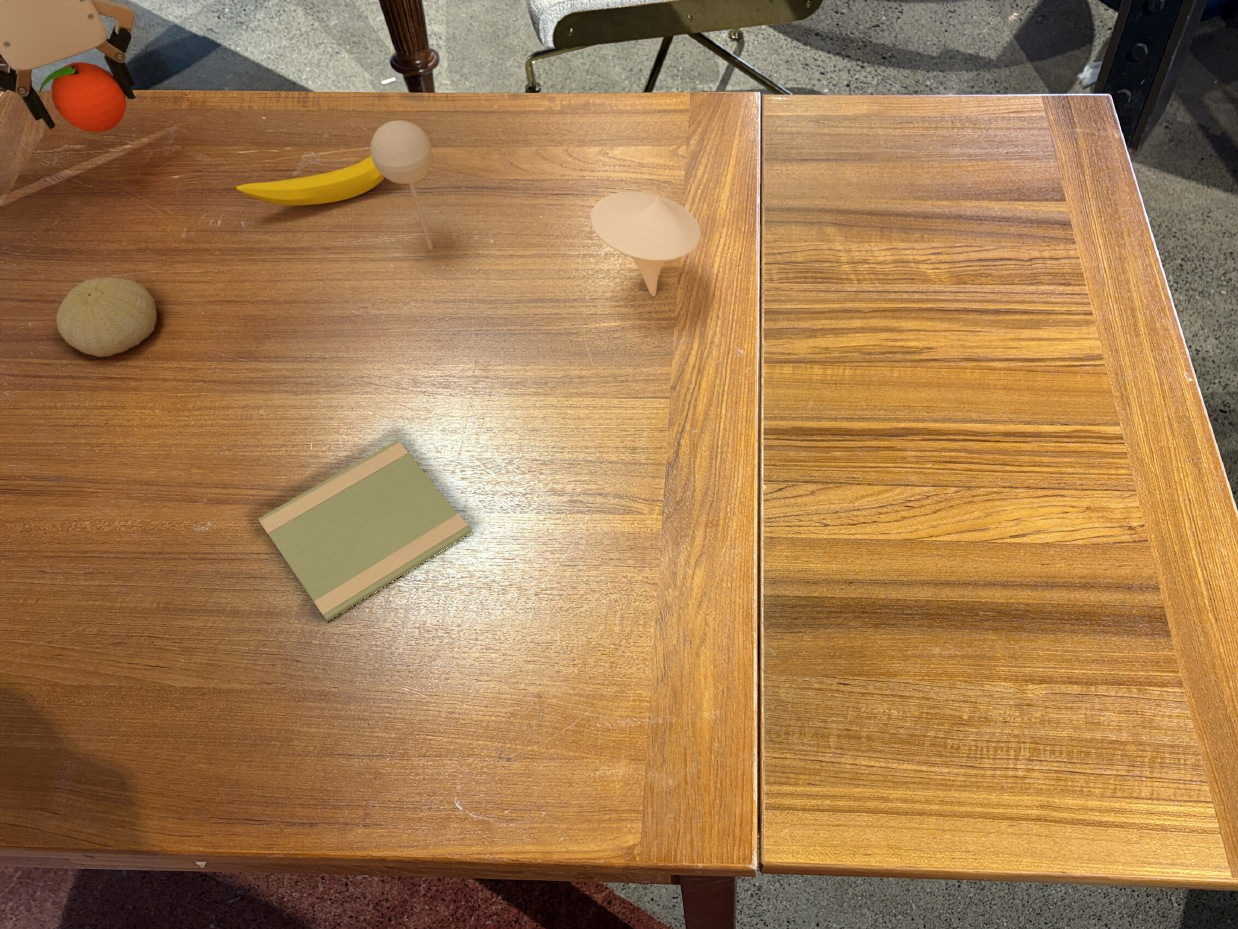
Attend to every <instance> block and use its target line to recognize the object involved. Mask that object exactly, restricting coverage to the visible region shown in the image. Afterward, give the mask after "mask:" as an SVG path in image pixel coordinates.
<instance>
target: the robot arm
mask: <svg viewBox="0 0 1238 929" xmlns="http://www.w3.org/2000/svg"><path fill="white" fill-rule="evenodd" d="M101 16H105V17H107V18H109V17H110V18H112V19H115V25H114V27H113V28H112V31H111V34H110V35H109V36H108V32H107V29H106V26H105V24H104V22H103V19H102V18H101ZM134 20H135V12H133V10H132V9H131V8H130V7H129V6H128V5H125V4H121V3H118V2H115V1H110V0H0V56H1V57H2V59H3V60H4V61H5V62H6V64H7V65H8V67H7V71H5V70H3V69H0V88H2V89H4V90H7V91H10V92H12V93H15V94H16V95H18V96H19V97H21V99H22V101H23V102H24V103H25V106H26V108H27V109H28V111H29V113H30V114H31V115H32V117H33V119H34V120H35V121H40V120H42V121H43V122H44V124H45V125H46V126H47V127H48V129H49V130H52V129H55V128H56V126H57V125H56V123H55V121H54V120H53V118H52V116H51V114H50V113H49V111H48V109H47V108H46V106H45V104H44V102H43V100H42V99H41V96H40V94H38V92H37V90H35V88H34V87H33V86H32V84H31V82H32V74H33V70H36V69H39V68H42V67H45V66H48V65H51V64H55V63H57V62H61V61H62V60H66V59H70V58H72V57H75V56H78V55H81V54H83V53H86V52H90V51H92V50H94V49H96V50H98V51H99V52H101V53H102V54H103V55H104V56H103V59H104V60H105V62H106V66H108V68H109V71H110V72H111V75H112V76H114V77H115V79H116V80H117V81H118V83H119V84H120V86H121V87H122V89H123V92H124V94H125V98H126V99H127V100H131V101H132V100H134V99H136V98H137V97H136V95H135V93H134V91H133V89H132V87H134V86H136V83H135V80H134V78H133V76H132V74H131V72H130V70H129V68H128V66H127V64H126V61H127V60H126V59H127V56H126V53H127V51H128V48H129V46H130V43H131V41H132V30H133V27H134Z"/></svg>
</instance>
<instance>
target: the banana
mask: <svg viewBox="0 0 1238 929" xmlns="http://www.w3.org/2000/svg"><path fill="white" fill-rule="evenodd" d="M384 179H386V178H385V177H384V176H383V175H382V174H381V173H380V172H379V171H378V170H377V168H376V167H375V165H374V163H373V161H372V156H371V155H369V156H368V157H367V158H365V159H363V160H362V161H359V162H358V163H357V162H356V163H355V164H352V165H350V166H347V167H346V166H345V167H344V168H340V169H336V170H332V171H329V172H324V173H318V174H313V175H308V176H302V177H296V178H288V179H281V180H273V181H267V182H254V183H243V184H241V185H236V186H234V188H235V190H237V191H239V192H241V193H243V194H245V195H246V196H249V197H252V198H255V199H257V200H260V201H264V202H268V203H272V204H274V205H275V204H276V205H284V206H308V205H309V206H310V205H322V204H328V203H335V202H339V201H340V202H341V201H344V200H348V199H352V198H355V197H357V196H359V195H363V194H364V193H366V192H368V191H370V190H372V189H373V188H375V187H376V186H378V185H379V184H380V183H381V182H382V181H383V180H384Z"/></svg>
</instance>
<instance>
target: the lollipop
mask: <svg viewBox="0 0 1238 929" xmlns="http://www.w3.org/2000/svg"><path fill="white" fill-rule="evenodd" d="M369 152H370V156H372V161H373V163H374V165H375V167H376V168H377V170H378V171H379V172H380V173H381V174H382V175H383V176H384V177H385V178H384V179H387V180H389V181H391V182H392V183H396V184H400V185H409V188H410V192H411V195H412V198H413V202H414V205H415V208H416V211H417V215H418V218H419V221H420V225H421V228H422V232H423V234H424V238H425V241H426V244H427V248H428V250H429V251H433V250H434V247H433V243H432V240H431V237H430V234H429V229H428V226H427V224H426V220H425V216H424V213H423V210H422V206H421V203H420V201H419V200H420V199H419V195H418V193H417V190H416V186H415V183H417V182H419V181H421V180H422V179H423V178H425V176H426V175H427V174H428V172H429V171H430V169H431V167H432V164H433V157H434V151H433V146H432V142H431V141H430V139H429V137H428V135H427V134H426V132H424V131H423V129H422V128H420V127H419V126H418V125H416V124H414V123H412V122H410V121H407V120H401V119H396V120H391V121H388V122H385V123H384V124H382V125H381V126H380V127H378V128H377V130H376V131H375V133H374V134H373V136H372V139H371V142H370V151H369Z"/></svg>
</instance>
